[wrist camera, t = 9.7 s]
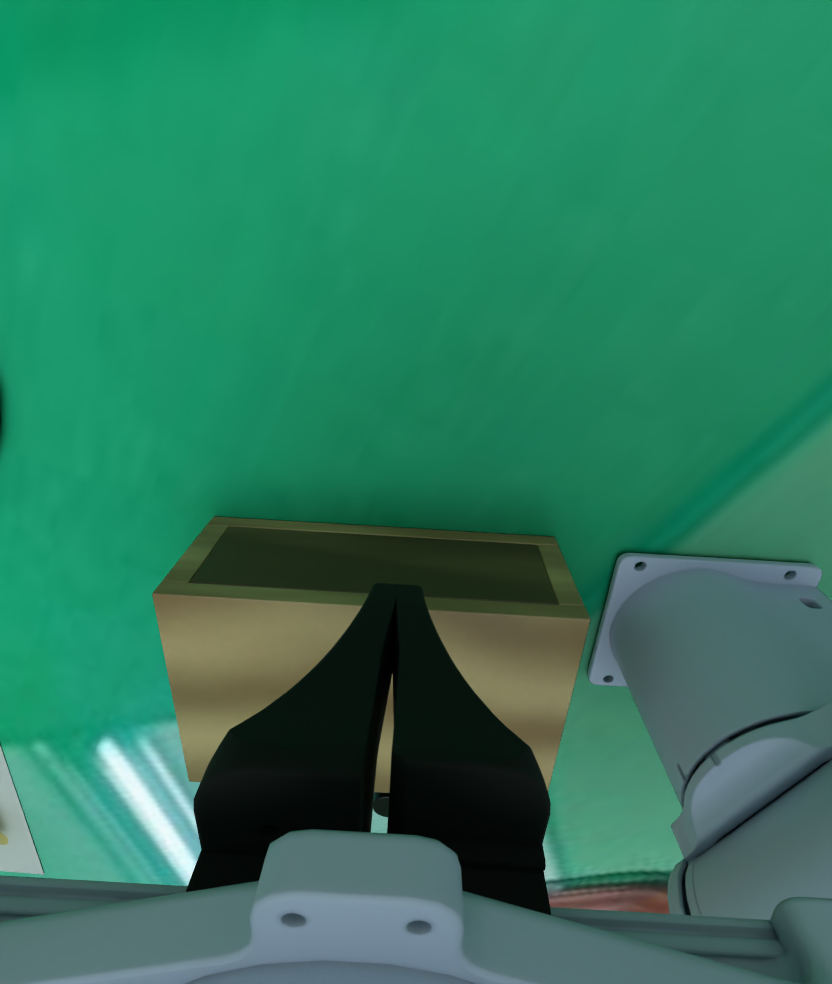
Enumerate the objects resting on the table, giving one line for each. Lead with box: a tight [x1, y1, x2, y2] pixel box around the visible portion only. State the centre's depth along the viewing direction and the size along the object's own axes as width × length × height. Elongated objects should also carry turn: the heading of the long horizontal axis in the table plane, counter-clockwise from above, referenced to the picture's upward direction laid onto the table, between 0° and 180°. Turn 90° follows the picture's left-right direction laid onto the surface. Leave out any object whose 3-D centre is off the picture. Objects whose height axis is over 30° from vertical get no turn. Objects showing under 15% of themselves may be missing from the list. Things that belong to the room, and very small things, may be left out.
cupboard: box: [152, 517, 590, 793], centre depth 24 cm, size 10×16×6 cm, turn 87°
